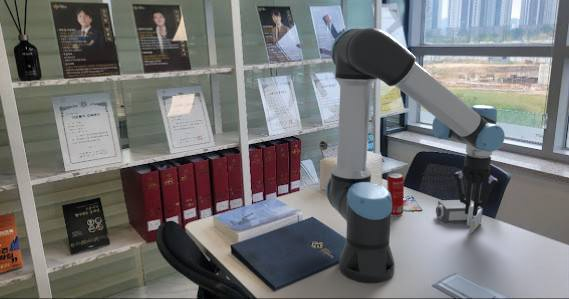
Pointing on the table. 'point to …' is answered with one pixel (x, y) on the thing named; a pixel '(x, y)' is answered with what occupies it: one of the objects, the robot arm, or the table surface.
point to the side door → (475, 220)
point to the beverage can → (396, 192)
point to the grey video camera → (452, 211)
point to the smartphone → (411, 205)
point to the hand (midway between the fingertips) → (469, 223)
